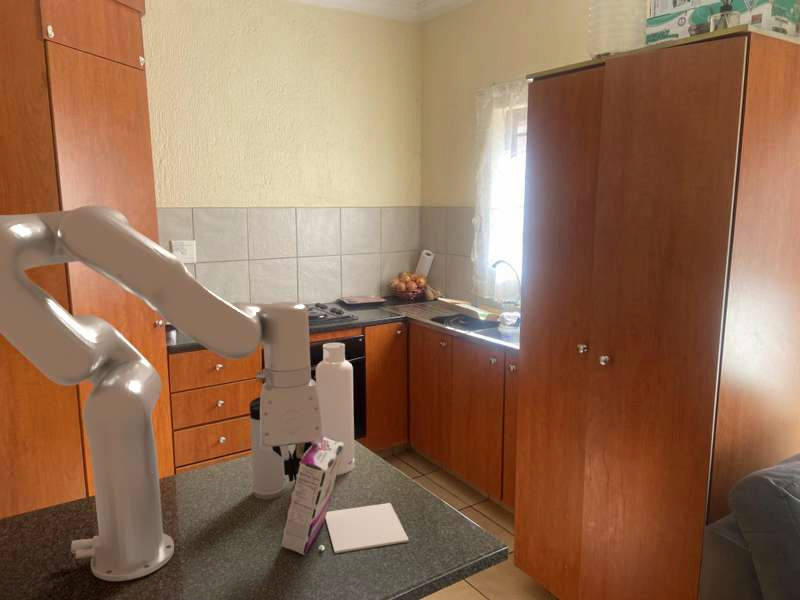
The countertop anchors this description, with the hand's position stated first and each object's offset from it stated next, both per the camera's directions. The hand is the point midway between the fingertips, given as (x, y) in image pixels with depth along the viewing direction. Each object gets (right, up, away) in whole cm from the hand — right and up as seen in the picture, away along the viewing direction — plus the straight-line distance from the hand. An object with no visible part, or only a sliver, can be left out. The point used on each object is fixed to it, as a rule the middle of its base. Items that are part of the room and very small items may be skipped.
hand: (293, 477), depth 101 cm
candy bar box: (+1, -11, +2) cm, 11 cm away
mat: (+12, -11, +5) cm, 17 cm away
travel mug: (-8, -9, +18) cm, 22 cm away
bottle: (+4, -7, +30) cm, 31 cm away
